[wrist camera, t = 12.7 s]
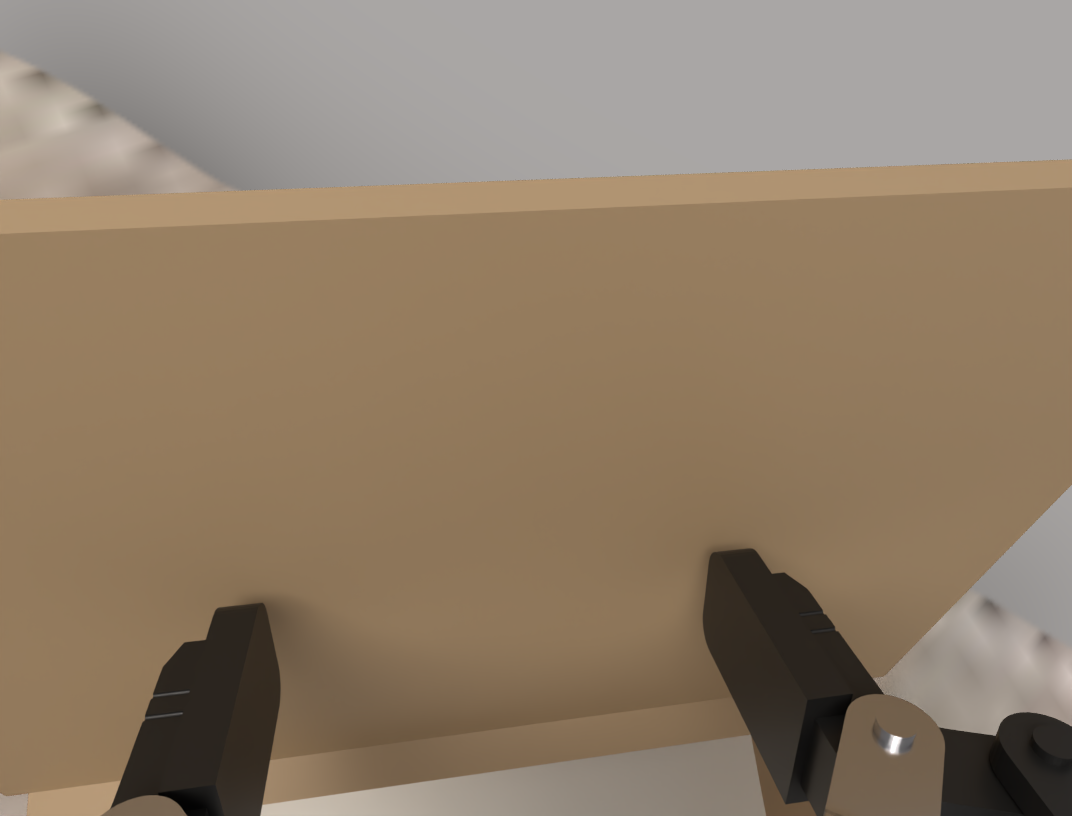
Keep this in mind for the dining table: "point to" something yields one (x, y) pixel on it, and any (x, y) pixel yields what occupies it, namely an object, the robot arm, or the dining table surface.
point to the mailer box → (522, 772)
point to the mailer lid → (507, 435)
